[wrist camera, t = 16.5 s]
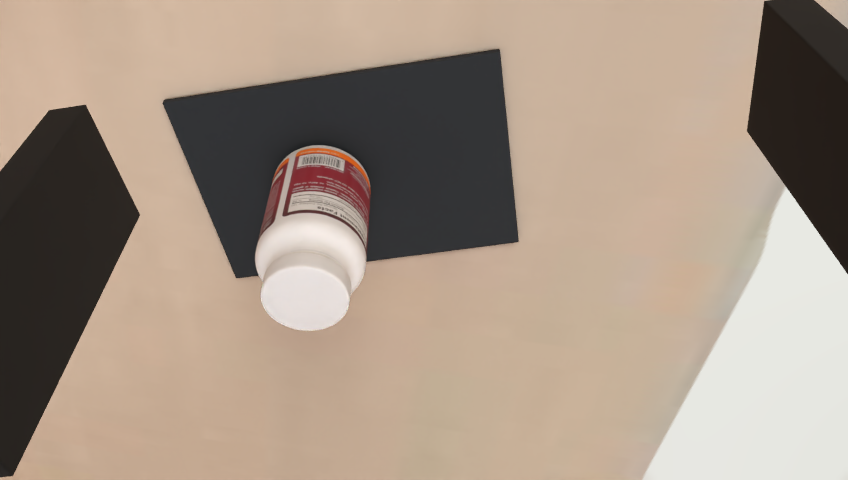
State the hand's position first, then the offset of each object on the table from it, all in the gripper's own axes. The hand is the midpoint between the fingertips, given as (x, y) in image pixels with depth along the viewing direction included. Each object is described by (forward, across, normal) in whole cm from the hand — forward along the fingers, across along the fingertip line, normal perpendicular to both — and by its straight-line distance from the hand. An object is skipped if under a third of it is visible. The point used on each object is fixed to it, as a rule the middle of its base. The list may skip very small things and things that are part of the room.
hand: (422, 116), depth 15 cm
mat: (+27, -7, -18) cm, 33 cm away
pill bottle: (+26, -9, -18) cm, 33 cm away
